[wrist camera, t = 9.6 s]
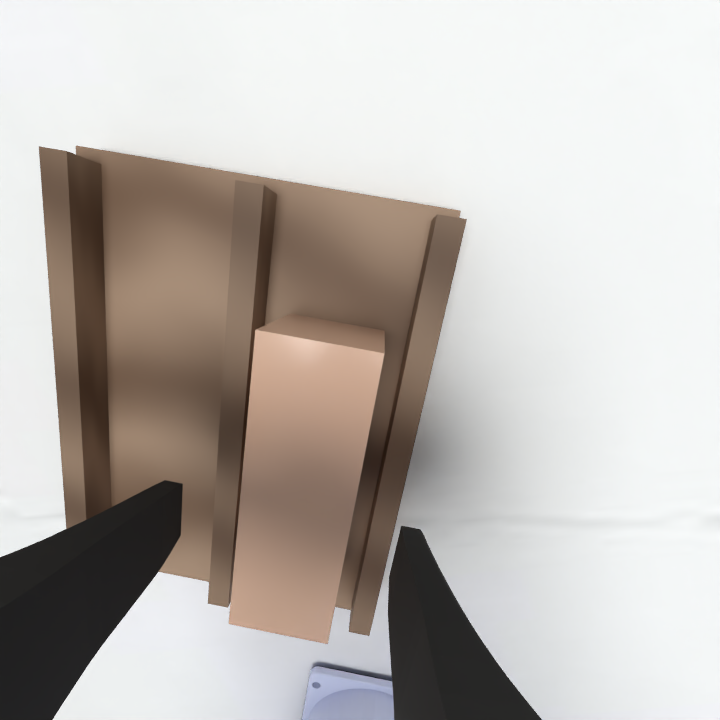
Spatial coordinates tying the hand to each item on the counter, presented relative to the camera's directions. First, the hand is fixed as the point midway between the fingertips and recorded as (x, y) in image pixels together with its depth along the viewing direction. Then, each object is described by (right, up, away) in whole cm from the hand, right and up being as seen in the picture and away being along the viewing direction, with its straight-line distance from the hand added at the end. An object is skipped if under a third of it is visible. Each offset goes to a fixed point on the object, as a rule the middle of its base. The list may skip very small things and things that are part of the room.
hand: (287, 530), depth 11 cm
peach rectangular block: (0, +1, +5) cm, 5 cm away
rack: (-3, +3, +6) cm, 7 cm away
